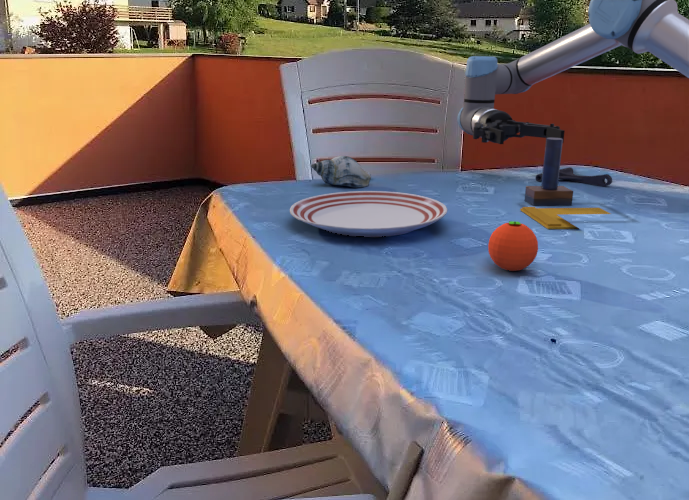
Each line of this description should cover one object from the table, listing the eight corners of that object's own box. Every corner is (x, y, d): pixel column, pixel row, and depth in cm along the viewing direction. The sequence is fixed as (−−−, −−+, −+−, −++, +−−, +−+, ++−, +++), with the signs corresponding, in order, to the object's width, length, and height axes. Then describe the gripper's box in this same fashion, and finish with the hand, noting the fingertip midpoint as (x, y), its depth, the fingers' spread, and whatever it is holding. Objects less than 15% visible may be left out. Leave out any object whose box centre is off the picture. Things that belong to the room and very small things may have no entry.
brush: (561, 200, 146) (568, 136, 142) (571, 205, 141) (579, 140, 138) (524, 200, 145) (530, 136, 142) (533, 205, 141) (539, 140, 137)
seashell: (364, 196, 154) (312, 190, 157) (373, 176, 159) (323, 171, 162) (361, 171, 149) (308, 166, 153) (371, 152, 155) (319, 148, 158)
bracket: (594, 191, 155) (596, 178, 154) (535, 180, 165) (536, 169, 165) (624, 183, 165) (626, 171, 164) (566, 174, 175) (568, 162, 174)
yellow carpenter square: (599, 209, 138) (599, 205, 138) (634, 228, 125) (635, 223, 125) (520, 210, 137) (520, 206, 136) (547, 229, 123) (548, 224, 123)
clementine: (483, 259, 106) (487, 213, 104) (530, 261, 105) (535, 215, 103) (488, 276, 98) (492, 226, 96) (539, 278, 98) (544, 229, 96)
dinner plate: (297, 248, 110) (297, 227, 109) (284, 207, 136) (283, 190, 135) (467, 243, 114) (469, 223, 113) (423, 204, 140) (423, 188, 139)
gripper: (539, 140, 172) (584, 154, 152) (442, 141, 168) (475, 156, 148) (542, 109, 170) (588, 118, 150) (443, 109, 165) (477, 119, 145)
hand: (532, 137), depth 149 cm, fingers open, 13 cm apart
